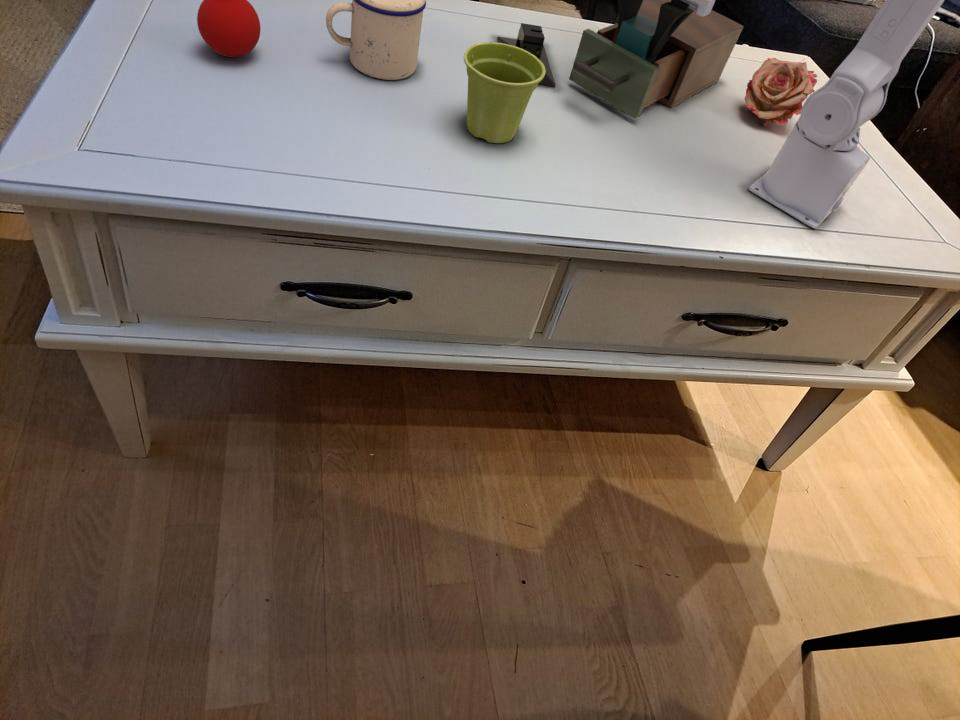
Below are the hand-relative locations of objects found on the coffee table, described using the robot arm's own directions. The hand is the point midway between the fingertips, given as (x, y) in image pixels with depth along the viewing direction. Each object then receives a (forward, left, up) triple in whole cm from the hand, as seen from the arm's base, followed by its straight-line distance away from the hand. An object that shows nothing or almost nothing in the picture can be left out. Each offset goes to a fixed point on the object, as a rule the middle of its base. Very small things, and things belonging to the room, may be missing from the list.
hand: (636, 47), depth 92 cm
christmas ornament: (+33, +40, -7) cm, 52 cm away
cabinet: (0, -11, -7) cm, 13 cm away
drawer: (0, +1, -6) cm, 6 cm away
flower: (-16, -15, -7) cm, 23 cm away
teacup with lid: (+23, +26, -7) cm, 35 cm away
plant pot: (+4, +24, -7) cm, 25 cm away
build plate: (+13, +6, -7) cm, 16 cm away
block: (0, 0, -1) cm, 1 cm away
